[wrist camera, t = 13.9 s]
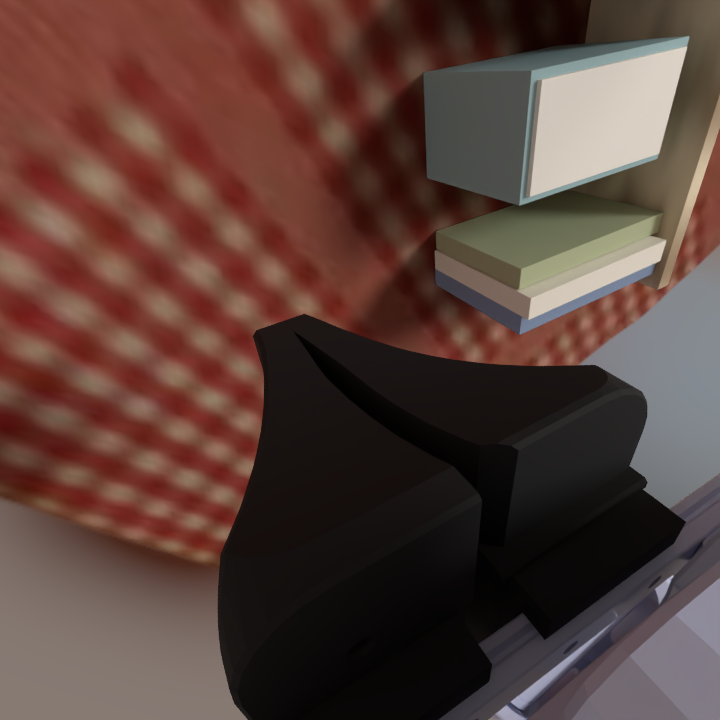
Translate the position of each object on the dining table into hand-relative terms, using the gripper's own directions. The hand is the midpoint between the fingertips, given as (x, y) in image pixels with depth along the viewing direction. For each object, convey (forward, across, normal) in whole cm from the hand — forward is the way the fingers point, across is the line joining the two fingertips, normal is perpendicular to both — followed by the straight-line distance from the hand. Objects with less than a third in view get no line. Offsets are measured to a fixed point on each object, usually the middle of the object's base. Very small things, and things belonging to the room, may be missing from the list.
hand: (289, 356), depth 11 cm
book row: (+10, -16, +4) cm, 19 cm away
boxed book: (+10, -15, -3) cm, 18 cm away
